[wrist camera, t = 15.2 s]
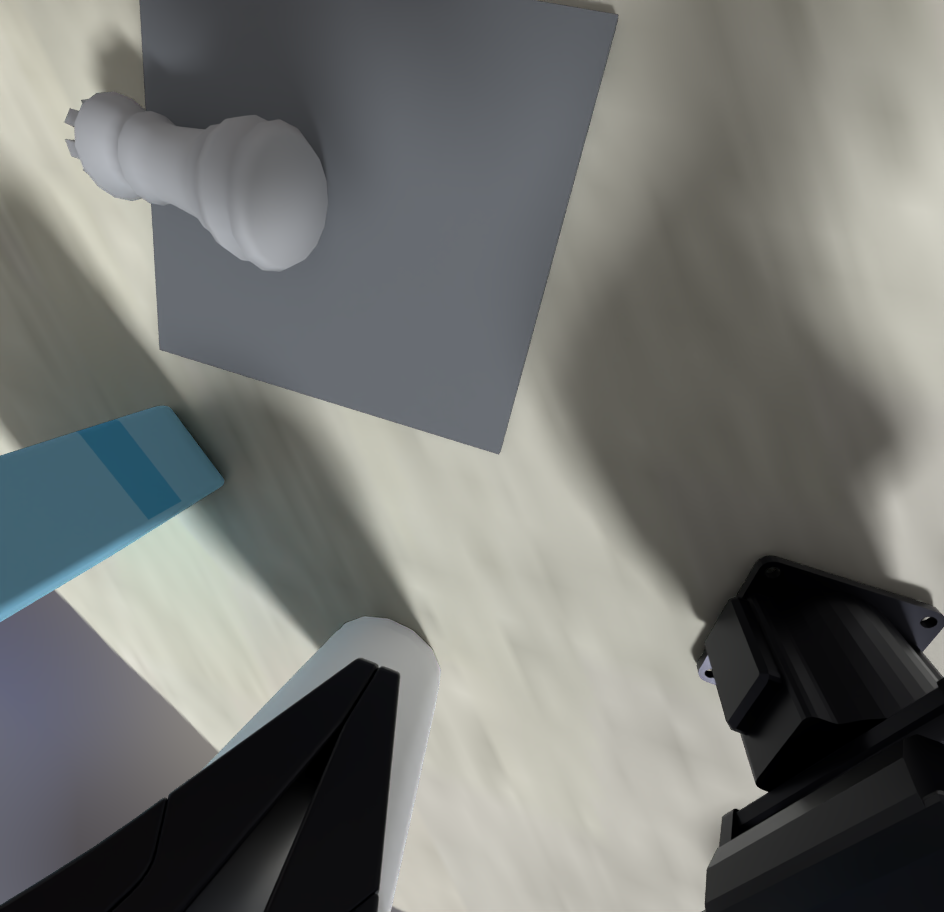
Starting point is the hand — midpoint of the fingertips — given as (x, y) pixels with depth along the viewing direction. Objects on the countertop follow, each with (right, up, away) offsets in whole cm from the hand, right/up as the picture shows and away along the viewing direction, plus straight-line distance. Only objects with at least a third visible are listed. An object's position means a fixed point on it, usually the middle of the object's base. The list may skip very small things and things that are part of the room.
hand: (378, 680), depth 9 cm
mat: (-3, +13, +9) cm, 16 cm away
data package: (-16, +3, +17) cm, 23 cm away
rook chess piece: (-4, +12, +6) cm, 14 cm away
